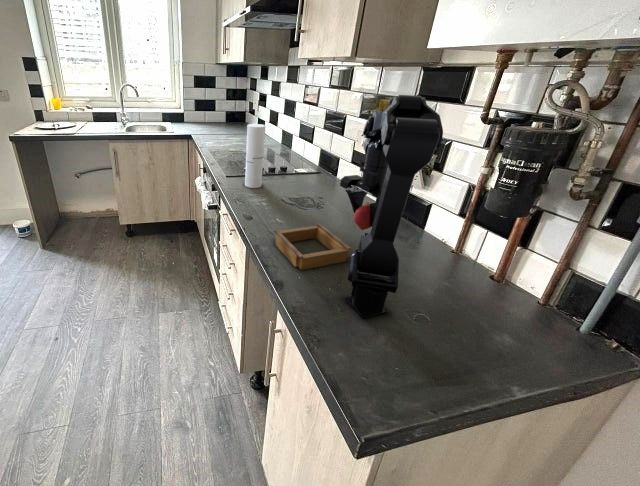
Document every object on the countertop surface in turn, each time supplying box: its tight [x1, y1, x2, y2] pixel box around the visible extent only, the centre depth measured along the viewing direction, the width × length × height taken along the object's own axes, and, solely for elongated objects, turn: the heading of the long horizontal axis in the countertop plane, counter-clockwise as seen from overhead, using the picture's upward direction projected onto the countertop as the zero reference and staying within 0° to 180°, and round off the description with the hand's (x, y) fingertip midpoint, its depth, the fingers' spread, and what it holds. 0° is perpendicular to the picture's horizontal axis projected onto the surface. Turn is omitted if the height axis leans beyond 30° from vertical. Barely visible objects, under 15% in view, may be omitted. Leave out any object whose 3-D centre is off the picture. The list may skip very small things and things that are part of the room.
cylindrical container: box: [244, 123, 266, 189], centre depth 133 cm, size 7×7×25 cm
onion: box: [353, 201, 372, 231], centre depth 86 cm, size 6×6×8 cm
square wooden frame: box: [273, 222, 352, 271], centre depth 89 cm, size 15×15×4 cm
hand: (364, 220), depth 87 cm, fingers closed on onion, 6 cm apart
